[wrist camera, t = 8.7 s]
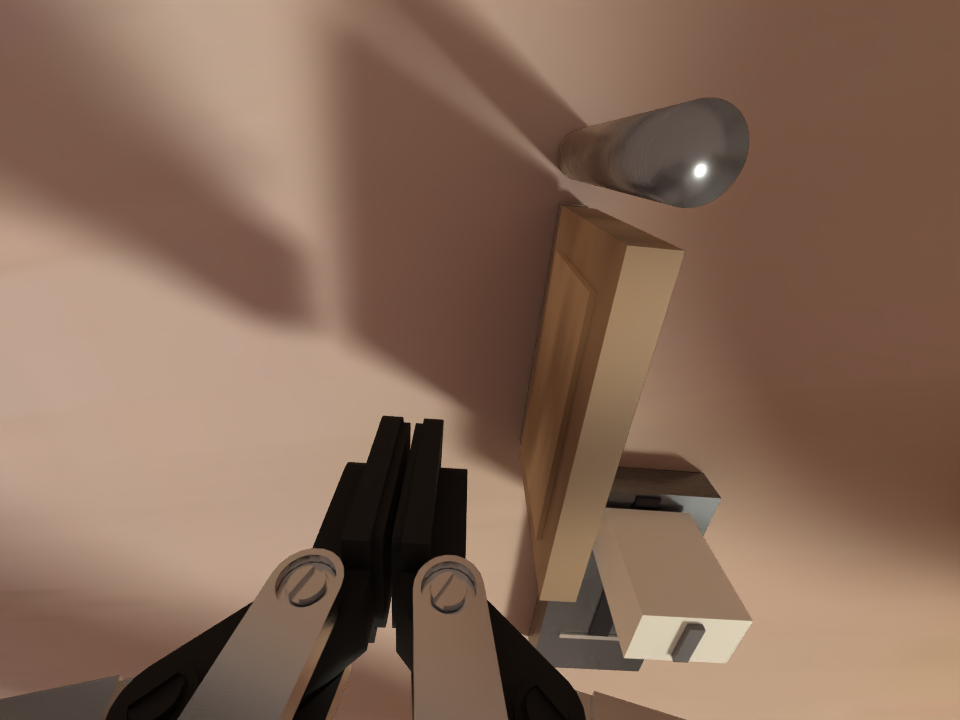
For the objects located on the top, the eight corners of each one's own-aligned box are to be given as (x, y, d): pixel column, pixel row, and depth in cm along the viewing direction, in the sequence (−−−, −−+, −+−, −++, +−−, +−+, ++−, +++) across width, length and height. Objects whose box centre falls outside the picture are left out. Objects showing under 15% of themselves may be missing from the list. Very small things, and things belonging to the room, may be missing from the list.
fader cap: (672, 552, 18) (729, 669, 14) (591, 547, 18) (625, 664, 14) (689, 513, 17) (757, 627, 13) (604, 507, 17) (644, 621, 13)
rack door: (544, 456, 17) (575, 602, 11) (516, 454, 16) (534, 599, 11) (595, 208, 12) (685, 250, 7) (557, 205, 12) (618, 244, 7)
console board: (629, 642, 24) (639, 673, 23) (528, 637, 24) (531, 668, 22) (703, 473, 18) (722, 500, 17) (570, 463, 18) (578, 490, 17)
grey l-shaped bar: (545, 441, 17) (587, 621, 11) (512, 439, 17) (534, 618, 11) (608, 131, 12) (765, 103, 6) (562, 126, 12) (663, 92, 5)
